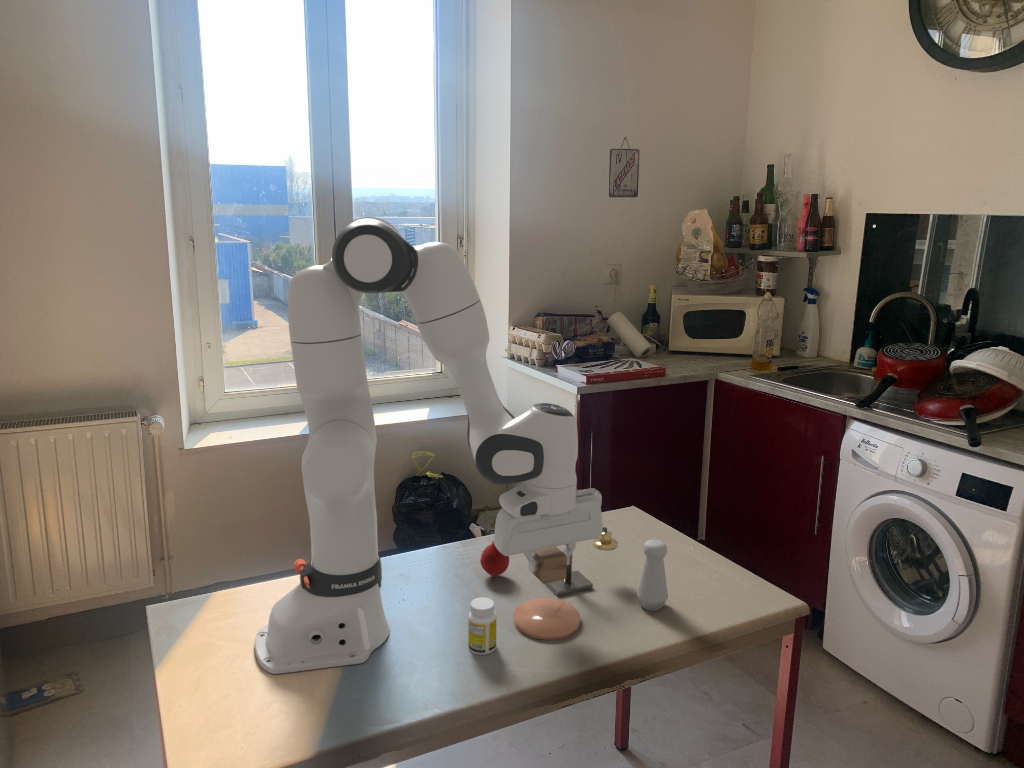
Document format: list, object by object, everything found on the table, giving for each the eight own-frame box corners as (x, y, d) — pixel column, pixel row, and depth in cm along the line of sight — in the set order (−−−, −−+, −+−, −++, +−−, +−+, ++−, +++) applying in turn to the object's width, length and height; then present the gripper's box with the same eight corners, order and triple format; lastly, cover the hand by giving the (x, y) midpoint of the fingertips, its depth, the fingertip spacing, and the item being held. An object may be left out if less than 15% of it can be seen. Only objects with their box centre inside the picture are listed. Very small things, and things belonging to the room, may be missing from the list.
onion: (510, 570, 152) (510, 535, 151) (507, 584, 147) (508, 547, 145) (482, 569, 153) (482, 533, 151) (478, 582, 147) (478, 545, 145)
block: (532, 572, 133) (532, 549, 132) (553, 567, 135) (554, 545, 134) (543, 584, 129) (544, 560, 128) (565, 578, 131) (566, 555, 130)
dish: (531, 646, 126) (532, 639, 126) (503, 611, 137) (503, 606, 136) (591, 630, 131) (592, 624, 131) (559, 598, 142) (559, 593, 141)
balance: (525, 603, 140) (527, 535, 137) (511, 589, 145) (513, 523, 142) (621, 581, 149) (625, 517, 146) (606, 568, 154) (609, 506, 151)
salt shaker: (642, 594, 144) (646, 533, 141) (671, 602, 141) (675, 540, 138) (631, 607, 139) (635, 544, 136) (660, 616, 136) (665, 552, 133)
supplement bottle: (490, 637, 128) (491, 594, 127) (500, 652, 124) (500, 607, 122) (464, 642, 127) (464, 598, 125) (473, 658, 123) (473, 612, 121)
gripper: (592, 480, 135) (589, 549, 139) (490, 497, 127) (490, 570, 130) (611, 492, 130) (607, 564, 133) (506, 510, 121) (505, 586, 125)
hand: (548, 567), depth 132 cm, fingers closed on block, 4 cm apart
